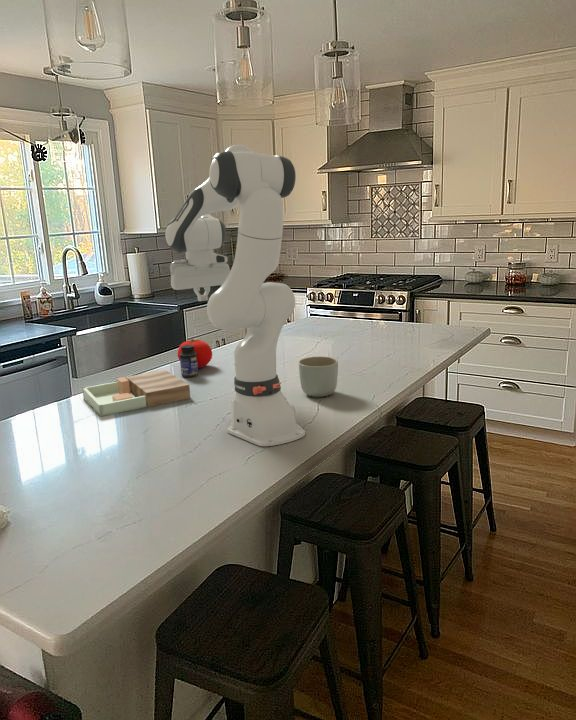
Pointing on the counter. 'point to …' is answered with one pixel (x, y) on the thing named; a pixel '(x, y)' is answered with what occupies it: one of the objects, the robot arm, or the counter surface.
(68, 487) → the counter surface
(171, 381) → the board
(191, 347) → the pill bottle
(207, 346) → the tomato
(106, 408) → the tray
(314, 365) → the planter
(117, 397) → the tile
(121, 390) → the tile
